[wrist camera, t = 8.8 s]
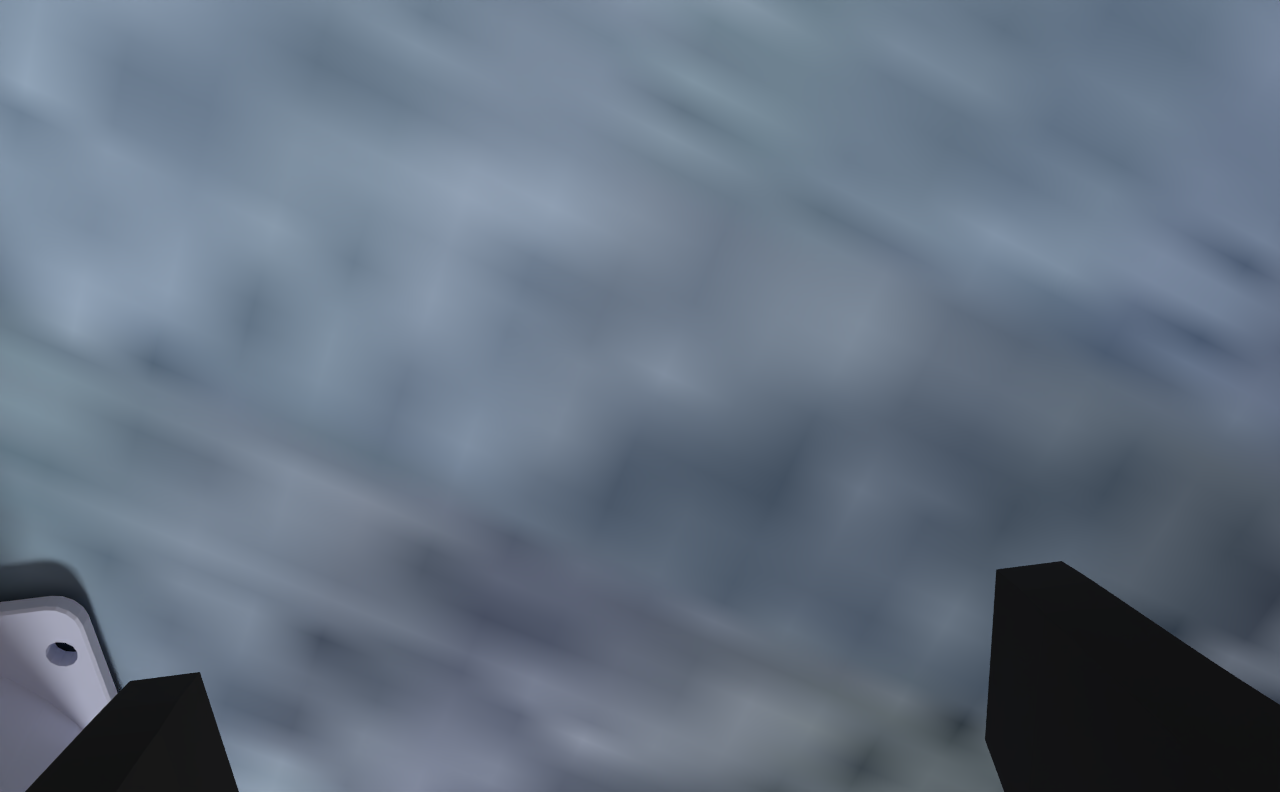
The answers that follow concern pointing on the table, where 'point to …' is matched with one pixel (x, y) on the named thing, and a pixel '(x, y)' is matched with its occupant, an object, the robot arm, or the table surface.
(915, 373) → the table surface
